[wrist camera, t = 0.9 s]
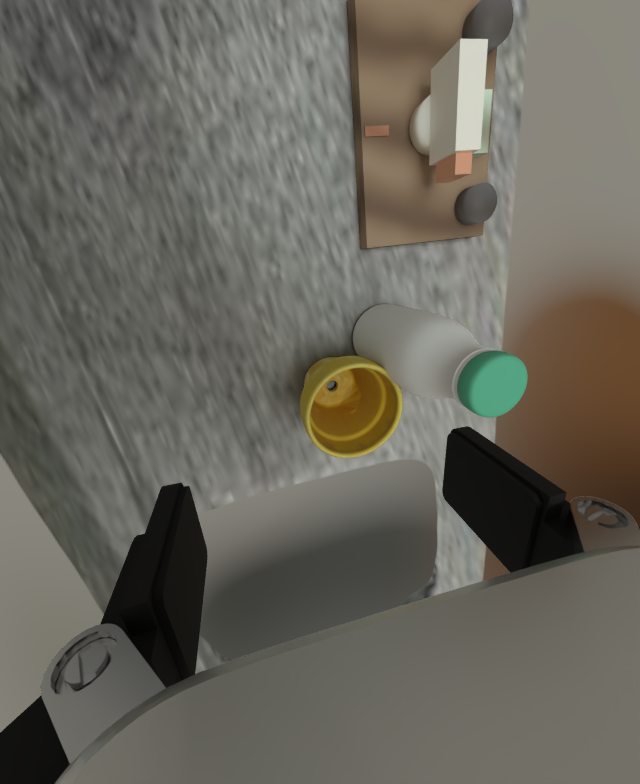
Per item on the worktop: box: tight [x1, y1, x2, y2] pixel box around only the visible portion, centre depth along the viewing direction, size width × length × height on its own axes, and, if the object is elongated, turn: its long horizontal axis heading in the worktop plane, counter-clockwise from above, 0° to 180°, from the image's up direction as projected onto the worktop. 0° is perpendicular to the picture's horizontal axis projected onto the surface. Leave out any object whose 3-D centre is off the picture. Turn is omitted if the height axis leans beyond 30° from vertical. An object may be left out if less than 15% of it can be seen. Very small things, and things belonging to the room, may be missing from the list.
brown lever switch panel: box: [347, 0, 513, 249], centre depth 31 cm, size 20×14×4 cm
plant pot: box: [300, 356, 403, 458], centre depth 36 cm, size 10×10×10 cm
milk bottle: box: [353, 304, 527, 417], centre depth 30 cm, size 8×8×20 cm
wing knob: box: [409, 39, 488, 183], centre depth 28 cm, size 9×4×6 cm, turn 6°
